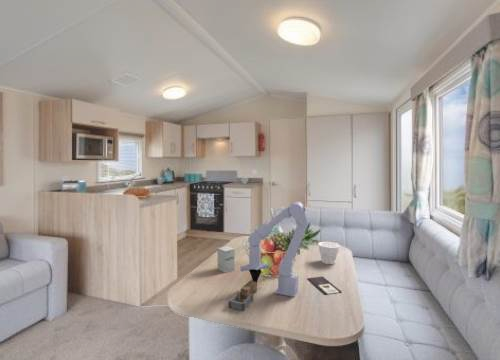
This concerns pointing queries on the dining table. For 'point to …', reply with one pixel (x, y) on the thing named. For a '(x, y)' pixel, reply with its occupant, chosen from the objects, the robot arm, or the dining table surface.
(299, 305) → the dining table surface
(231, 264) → the supplement box
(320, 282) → the chocolate bar
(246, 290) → the slat
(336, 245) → the cup
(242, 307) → the gray angular bracket
